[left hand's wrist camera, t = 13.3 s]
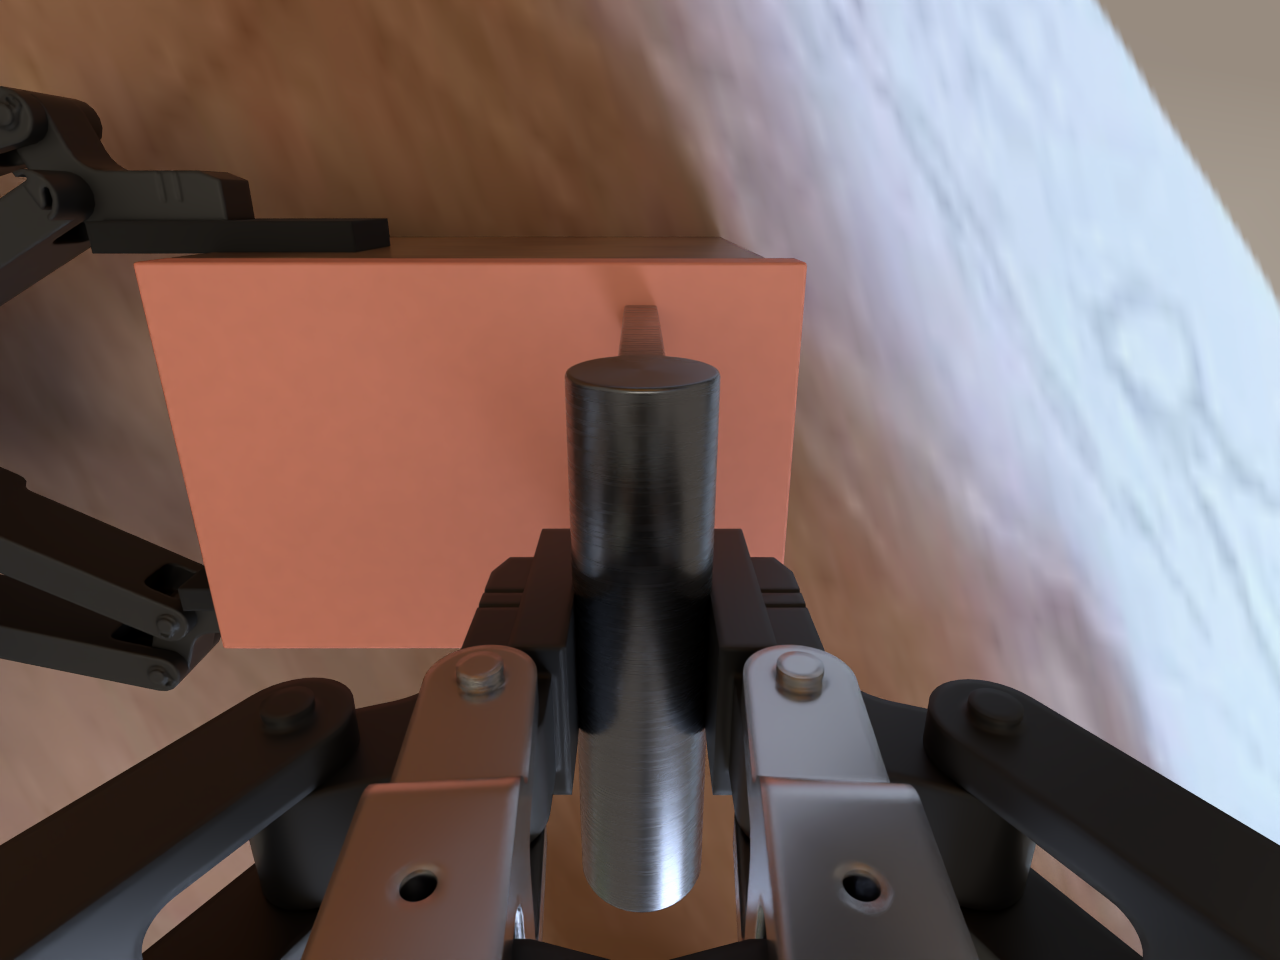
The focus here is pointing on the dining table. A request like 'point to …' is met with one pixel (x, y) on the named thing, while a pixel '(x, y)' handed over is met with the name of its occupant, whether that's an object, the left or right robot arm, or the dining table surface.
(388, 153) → the dining table surface
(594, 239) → the chest
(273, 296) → the lid
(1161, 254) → the dining table surface
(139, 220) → the right robot arm
